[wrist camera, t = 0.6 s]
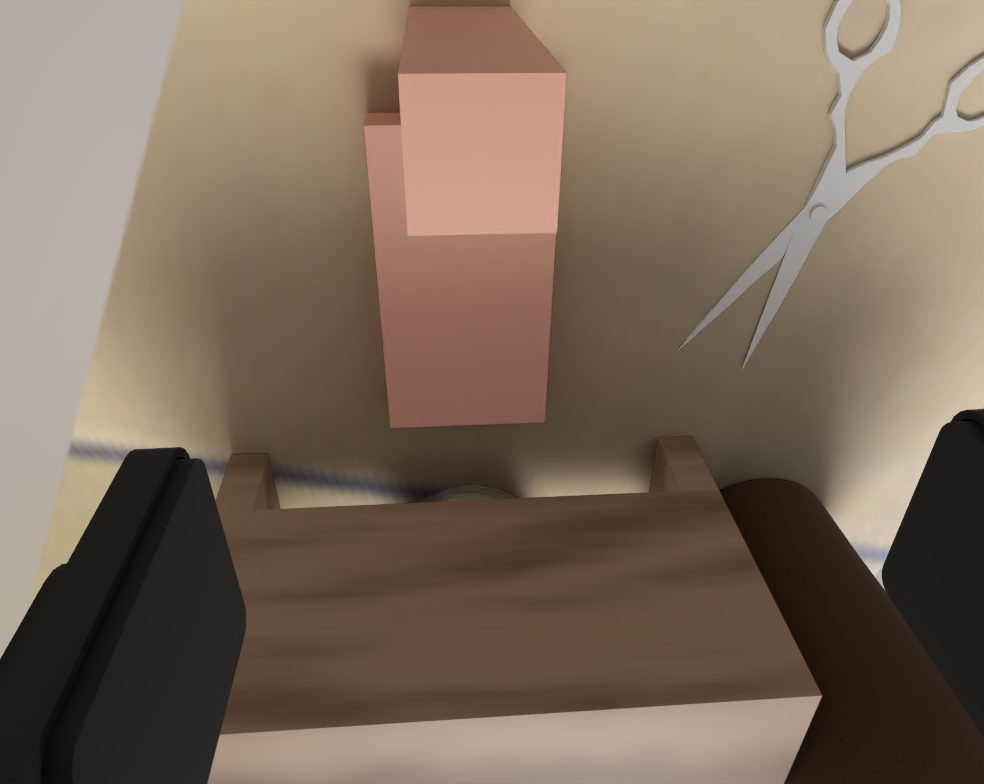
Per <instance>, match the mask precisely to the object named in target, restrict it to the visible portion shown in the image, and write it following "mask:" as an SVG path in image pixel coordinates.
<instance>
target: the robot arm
mask: <svg viewBox="0 0 984 784" xmlns="http://www.w3.org/2000/svg"><path fill="white" fill-rule="evenodd" d="M882 580H883V585H884V588H885V591H886V593H887V594H888V596H889V598H890V599H891V601H892V602H893V604H894V605H895V607H896V608H897V610H898V611H899V613H900V614H901V616H902V617H903V619H904V620H905V621H906V623H907V624H908V626H909V627H910V629H911V630H912V632H913V633H914V635H915V636H916V638H917V639H918V641H919V642H920V644H921V645H922V647H923V648H924V650H925V651H926V653H927V654H928V656H929V657H930V659H931V660H932V661H933V663H934V664H935V666H936V667H937V669H938V670H939V672H940V673H941V675H942V676H943V678H944V679H945V681H946V682H947V684H948V685H949V687H950V688H951V690H952V691H953V693H954V694H955V696H956V697H957V699H958V700H959V702H960V703H961V704H962V706H963V707H964V709H965V710H966V712H967V713H968V715H969V716H970V718H971V719H972V721H973V722H974V724H975V725H976V727H977V728H978V730H979V731H980V733H981V734H982V736H983V737H984V409H976V410H965V411H961V412H959V413H958V414H957V415H955V416H954V417H953V419H952V421H951V422H950V423H947V424H945V425H944V426H943V427H942V429H941V430H940V432H939V434H938V437H937V439H936V441H935V444H934V446H933V449H932V451H931V453H930V456H929V458H928V460H927V463H926V465H925V468H924V470H923V472H922V475H921V477H920V480H919V482H918V484H917V487H916V489H915V491H914V494H913V496H912V499H911V501H910V503H909V506H908V508H907V510H906V513H905V515H904V518H903V520H902V522H901V525H900V527H899V529H898V532H897V534H896V537H895V539H894V541H893V544H892V546H891V548H890V551H889V553H888V556H887V558H886V560H885V563H884V565H883V569H882ZM245 631H246V608H245V603H244V600H243V596H242V593H241V589H240V586H239V582H238V579H237V575H236V572H235V568H234V565H233V561H232V558H231V554H230V551H229V547H228V544H227V540H226V537H225V533H224V530H223V526H222V523H221V519H220V516H219V512H218V509H217V505H216V502H215V498H214V495H213V491H212V487H211V484H210V480H209V477H208V473H207V470H206V467H205V464H204V462H203V461H202V460H201V459H199V458H197V459H190V457H189V455H188V453H187V452H186V450H185V449H184V448H181V447H177V448H156V449H135V450H133V451H130V452H129V454H128V455H127V456H126V457H125V459H124V461H123V463H122V465H121V467H120V468H119V470H118V472H117V474H116V476H115V477H114V479H113V481H112V483H111V485H110V486H109V488H108V490H107V492H106V494H105V496H104V497H103V499H102V501H101V503H100V505H99V506H98V508H97V510H96V512H95V514H94V515H93V517H92V519H91V521H90V523H89V524H88V526H87V528H86V530H85V532H84V534H83V535H82V537H81V539H80V541H79V543H78V544H77V546H76V548H75V550H74V552H73V553H72V555H71V557H70V559H69V561H68V563H67V564H62V565H60V566H59V567H57V568H56V569H54V570H53V571H52V572H51V574H50V575H49V576H48V578H47V579H46V580H45V582H44V583H43V585H42V587H41V589H40V591H39V592H38V594H37V596H36V598H35V599H34V601H33V603H32V605H31V606H30V608H29V610H28V612H27V613H26V615H25V617H24V619H23V620H22V622H21V624H20V626H19V628H18V629H17V631H16V633H15V635H14V636H13V638H12V640H11V641H10V643H9V645H8V647H7V649H6V650H5V652H4V654H3V655H2V657H1V659H0V784H207V783H208V779H209V775H210V771H211V767H212V763H213V759H214V755H215V751H216V747H217V743H218V740H219V736H220V732H221V728H222V724H223V720H224V716H225V712H226V708H227V704H228V700H229V696H230V692H231V688H232V684H233V680H234V676H235V672H236V668H237V664H238V660H239V656H240V652H241V648H242V644H243V640H244V636H245Z"/></svg>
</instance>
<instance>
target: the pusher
mask: <svg viewBox="0 0 984 784" xmlns="http://www.w3.org/2000/svg"><path fill="white" fill-rule="evenodd" d="M566 75H567V73H566V72H565V70H564V69H563V68H562V67H561V66H560V64H559V63H558V62H557V61H556V60H555V58H554V57H553V56H552V55H551V54H550V53H549V51H548V50H547V49H546V48H545V47H544V45H543V44H542V43H541V42H540V41H539V39H538V38H537V37H536V36H535V35H534V34H533V32H532V31H531V30H530V29H529V28H528V26H527V25H526V24H525V23H524V22H523V21H522V19H521V18H520V17H519V16H518V15H517V13H516V12H515V11H514V10H513V9H512V7H511V6H410V7H409V13H408V19H407V25H406V30H405V36H404V42H403V47H402V53H401V59H400V65H399V70H398V84H399V101H400V112H385V113H367V116H366V120H365V123H364V134H365V146H366V157H367V169H368V180H369V191H370V203H371V214H372V226H373V237H374V249H375V260H376V271H377V283H378V294H379V306H380V317H381V328H382V340H383V351H384V363H385V374H386V386H387V397H388V408H389V420H390V428H407V427H433V426H459V425H486V424H512V423H538V422H545V411H546V394H547V377H548V360H549V344H550V327H551V310H552V293H553V276H554V260H555V243H556V233H557V224H558V208H559V191H560V175H561V158H562V141H563V125H564V108H565V92H566Z"/></svg>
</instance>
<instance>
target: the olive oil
mask: <svg viewBox="0 0 984 784" xmlns="http://www.w3.org/2000/svg"><path fill="white" fill-rule="evenodd" d="M720 493H721V495H722V497H723V499H724V501H725V503H726V505H727V507H728V509H729V511H730V513H731V515H732V517H733V519H734V521H735V523H736V525H737V527H738V529H739V531H740V533H741V535H742V537H743V539H744V541H745V543H746V545H747V547H748V549H749V551H750V553H751V555H752V557H753V559H754V561H755V563H756V565H757V567H758V569H759V571H760V573H761V575H762V577H763V579H764V581H765V583H766V585H767V587H768V589H769V591H770V593H771V595H772V597H773V599H774V601H775V603H776V605H777V606H778V608H779V610H780V612H781V614H782V616H783V618H784V620H785V622H786V624H787V626H788V628H789V630H790V632H791V634H792V636H793V638H794V640H795V642H796V644H797V646H798V648H799V650H800V652H801V654H802V656H803V658H804V660H805V662H806V664H807V666H808V668H809V670H810V672H811V674H812V676H813V678H814V680H815V682H816V684H817V686H818V688H819V690H820V692H821V694H822V697H821V700H820V702H819V704H818V707H817V709H816V711H815V713H814V716H813V718H812V720H811V723H810V725H809V727H808V730H807V732H806V734H805V736H804V739H803V741H802V743H801V746H800V748H799V750H798V753H797V755H796V757H795V759H794V762H793V764H792V766H791V769H790V771H789V773H788V776H787V778H786V780H785V782H784V784H984V737H983V736H982V734H981V733H980V731H979V730H978V728H977V727H976V725H975V724H974V722H973V721H972V719H971V718H970V716H969V715H968V713H967V712H966V710H965V709H964V707H963V706H962V704H961V703H960V702H959V700H958V699H957V697H956V696H955V694H954V693H953V691H952V690H951V688H950V687H949V685H948V684H947V682H946V681H945V679H944V678H943V676H942V675H941V673H940V672H939V670H938V669H937V667H936V666H935V664H934V663H933V661H932V660H931V659H930V657H929V656H928V654H927V653H926V651H925V650H924V648H923V647H922V645H921V644H920V642H919V641H918V639H917V638H916V636H915V635H914V633H913V632H912V630H911V629H910V627H909V626H908V624H907V623H906V621H905V620H904V619H903V617H902V616H901V614H900V613H899V611H898V610H897V608H896V607H895V605H894V604H893V602H892V601H891V599H890V598H889V596H888V594H887V593H886V591H885V590H884V589H883V588H882V586H881V585H880V583H879V582H878V581H877V579H876V578H875V577H874V575H873V574H872V573H871V571H870V570H869V569H868V567H867V566H866V565H865V563H864V562H863V561H862V559H861V558H860V556H859V555H858V554H857V552H856V551H855V550H854V548H853V547H852V545H851V544H850V543H849V541H848V540H847V538H846V537H845V536H844V534H843V533H842V531H841V530H840V529H839V527H838V526H837V524H836V523H835V521H834V520H833V519H832V517H831V516H830V514H829V513H828V512H827V510H826V509H825V507H824V506H823V505H822V503H821V502H820V501H819V499H818V498H817V497H816V496H815V495H814V494H813V493H812V492H811V491H810V490H808V489H807V488H805V487H803V486H802V485H799V484H797V483H794V482H791V481H787V480H780V479H760V480H753V481H748V482H744V483H740V484H737V485H734V486H731V487H729V488H727V489H724V490H722V491H720Z"/></svg>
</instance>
